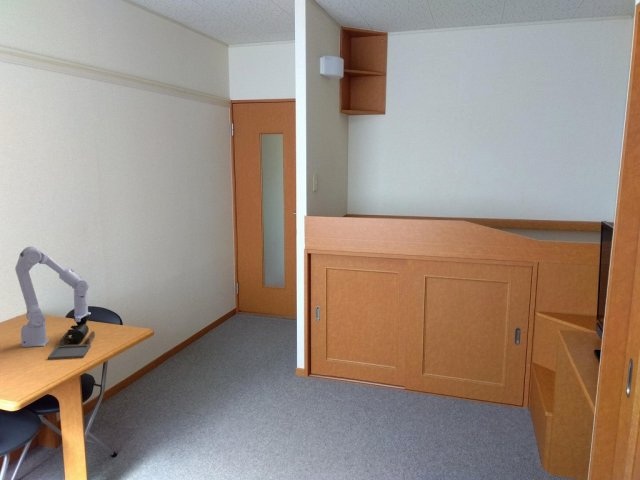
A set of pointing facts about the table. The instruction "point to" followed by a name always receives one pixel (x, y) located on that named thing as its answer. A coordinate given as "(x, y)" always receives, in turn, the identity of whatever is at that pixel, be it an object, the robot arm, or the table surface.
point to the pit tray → (69, 351)
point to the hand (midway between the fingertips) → (82, 331)
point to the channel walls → (65, 337)
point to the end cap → (77, 333)
